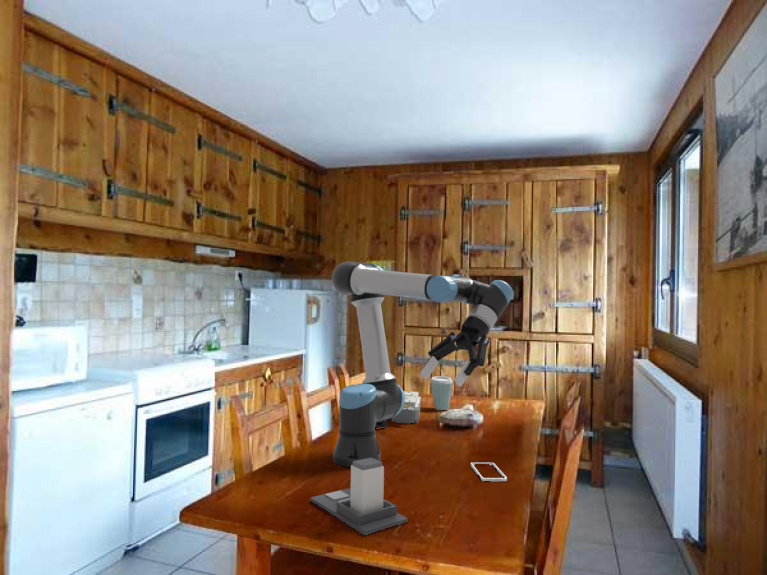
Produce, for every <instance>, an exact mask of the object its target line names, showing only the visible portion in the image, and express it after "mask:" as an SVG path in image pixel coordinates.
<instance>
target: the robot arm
mask: <svg viewBox="0 0 767 575" xmlns="http://www.w3.org/2000/svg"><path fill="white" fill-rule="evenodd" d="M331 282H332V286H333V287H334V289H335V291H337V292H338V293H339V294H341V295H344V296H348V297H350V303H351V305H353V306H354V307H355V308H356V316H357V322H358V329H359V334H360V335H359V336H360V337H359V338H360V343H361V352H362V358H363V365H364V373H365V377H364V379H363V380H362V382H361V383H357V384H354V383H353V384H349V385H347V386H345V387H343V388H342V389H341V390H340V391H339V400H338V411H339V412H338V419H339V420H338V436H337V437H338V438H337V439H336V440H337V441H336V443H335V446H334V449H333V451H332V462H335V465H336V464H337V465H338V466H341V467H347V468H348V467H349V468H351V465H353V461H357V460H362V459H367V458H374V459H376V460H378V461H381V450H380V448H379V444H378V439H377V437H376V430H375V425H376V422H379V421H382V420H385V419H387V420H390V419H392V417H394V416H396V415H397V414H399V413H400V412H401V410H402V409H403V407H404V403H405V395H404V392H403V391H404V390H403V388H402V387H401V386H400V384H398V383H397V378H396V376H395V375H394V374H393V373H391V367H390V360H389V353H388V345H387V339H386V331H385V325H384V318H383V311H382V305H381V304H382V303H383V302H384V300H385V296H393V297H402V298H410V299H418V300H426V301H432V302H437V303H442V304H443V303H464V304H466V305H467V304H468V305H469V306H473V308H472V310H471V311H470V312H469V314H468V317H466V319H465V320H464V321H463V322H462V324H461V328H460V332H459V333H458V334H457V333H456V334H455V332H454V331H451V332H450V333H449V334H448V335H447V336H446V337H445V338H444V339H443V340H441V341H440V342H439V343H437V344H436V345H435V346H434V347H433V348H431V349H430V350H429V351H428V352H427V354H428V356H429V357H430V358H429V359H428V360H427V361H426V363H425V365H424V367H423V368H422V369H421V372H420V375H421V377H422V379H424V380H425V381H427V380H428V379H429V378H430V377H431V375H432V373H433V372H434V371H435V369H436V367H438V365H439V361H440V360H442V359H444V358H446V357H447V356H449V355H450V354H453V353H454V352H458V351H460V350H462V351H463V350H465V351H468V360H466V361H465V363H464V364H463V366H462V367H461V368H460V370H459V372H458V374H456V376H455V377H454V379H453V380H454V382H455V383H456V384H457V386H458V387H460V388H461V387H462V386H463V385H464V383H465V381H466V380H467V378H468V377H470V376H471V375H472V373H473V371H475V369H476V368H478V367H482V368H483V367H484V366H485V362H486V356H487V350H488V349H487V348H488V346H489V345H490V344H489V343H490V339H489V338H488V337H487V335H489V333H490V331H491V330H492V328H493V327H494V325H495V324H496V322H497V321H498V319H499V318H500V316H501V315H502V313H503V312H504V311H505V309H506V308H507V307H508V305H509V303H510V301H511V300H512V298H513V296H514V291H513V288H512V287H511V286H510V284H508V282H505V281H504V280H500V279H497V280H493V281H492V282H491V283H490V284H486V283H483V282H480V281H478V280H474V279H471V278H469V277H466V276H464V275H459V274H456V273H455V274H452V275H451V276H449V275H448V276H447V275H439V274H438V275H435V274H426V273H416V272H415V273H414V272H405V271H404V272H403V271H396V270H384V268H382V267H381V266H380V265H378V264H374V263H373V262H372V263H371V262H358V261H344V262H341V263H340V264H338V265H337V266H335V268H334V269H333V272H332V275H331Z"/></svg>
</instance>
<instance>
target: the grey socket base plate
mask: <svg viewBox="0 0 767 575" xmlns="http://www.w3.org/2000/svg"><path fill="white" fill-rule="evenodd" d="M350 494H351V487H349V488H344V489H340V490H336V491H332V492H328V493H323V494H320V495H315V496H312V497H310V502H311V501H312V502H313V503H312V502H311V503H312V504H314V503H315V504H317V505H318V506H317V505H316V506H317V507H319V506H320V507H321V508H320V507H319V508H320V509H322V508H323V509H325V510H326V511H328V512H329V513H328V512H327V513H328V514H330V513H331V514H332V515H331V514H330V515H331V516H333V515H334V516H336V517H337V518H336V517H335V518H336V519H337V520H339V519H340V522H342V521H343V522H342V523H344V522H345V523H346V525H347V526H348V527H349V528H352V529H353V528H354V529H353V530H355V529H356V530H355V531H357V532H358V531H359V532H358V533H359V534H361V533H362V534H361V535H363V536H364V535H367V536H369V535H368V534H370V535H372V534H371V533H373V534H375V533H374V532H376V531H379V530H382V529H385V528H388V527H392V526H395V525H399V524H402V523H404V522H409V521H408V520H409V519H408V517H406V516H405V515H402V514H400V513H398V506H397V505H396V504H394V503H392V502H390V501H388V500H387V499H384V498H383V508H382V509H378V510H374V511H371V512H367V513H364V514H359V513H357V512H356V511H354V510H352V509H351V508H350ZM315 504H314V505H315ZM323 509H322V510H323ZM325 510H324V511H325ZM326 511H325V512H326ZM334 516H333V517H334ZM345 523H344V524H345ZM402 525H403V524H402ZM399 526H400V525H399ZM376 533H377V532H376Z"/></svg>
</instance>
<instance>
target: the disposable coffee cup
mask: <svg viewBox="0 0 767 575" xmlns="http://www.w3.org/2000/svg"><path fill="white" fill-rule="evenodd" d="M429 383H430V386H431V391H432V392H431V393H432V400H433V405H434V410H435V409H436V410H435V411H437V410H441V411H440V412H443V411H442V410H447V409H450V404H451V397H452V389H453V383H454V382H453V380H452V378H451V377H449V376H443V375H442V376H441V375H439V376H432V377H431V379H430V382H429ZM447 411H448V410H447Z"/></svg>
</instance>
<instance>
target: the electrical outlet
mask: <svg viewBox="0 0 767 575" xmlns="http://www.w3.org/2000/svg"><path fill="white" fill-rule="evenodd" d="M403 392H404V395H405V403H404V407H403V409H402V410H401V412H400V413H399V414H397V415H396V416H394V417H392V418H391V422H393V423H396V422H397V423H396V424H411V423H414V424H418V423H419V419H420V416H421V414H420V413H421V412H420V411H421V409H422V408H421V407H422V405H421V402H422V397H421V396H420V395H419V391H404V390H403Z"/></svg>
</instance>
